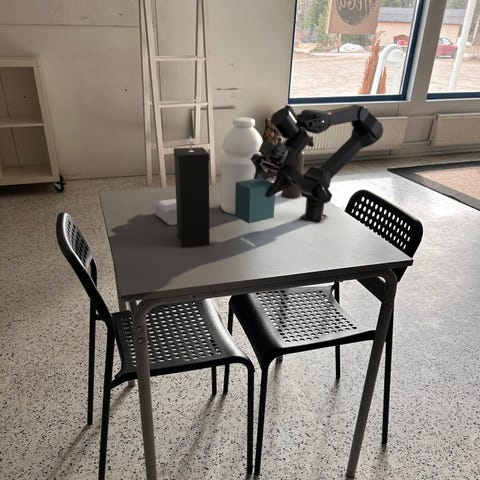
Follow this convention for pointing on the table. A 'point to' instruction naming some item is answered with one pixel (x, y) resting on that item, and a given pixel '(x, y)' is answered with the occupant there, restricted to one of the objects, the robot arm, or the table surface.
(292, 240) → the table surface
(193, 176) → the tall black block
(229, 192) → the bottle
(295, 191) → the bottle
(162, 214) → the charger
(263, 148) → the robot arm
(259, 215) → the teal box
